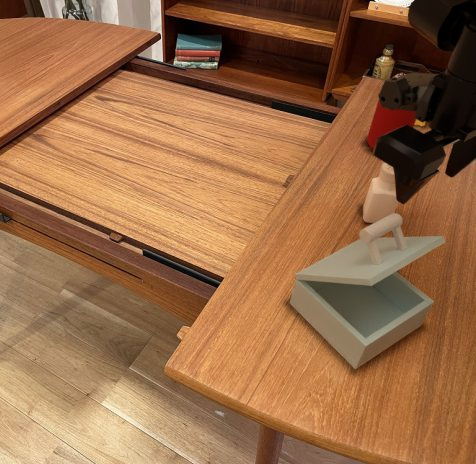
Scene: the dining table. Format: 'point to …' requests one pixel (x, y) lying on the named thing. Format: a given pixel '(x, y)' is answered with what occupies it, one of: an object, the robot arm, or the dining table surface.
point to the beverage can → (388, 122)
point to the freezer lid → (371, 255)
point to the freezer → (361, 314)
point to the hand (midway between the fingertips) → (425, 188)
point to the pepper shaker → (381, 196)
